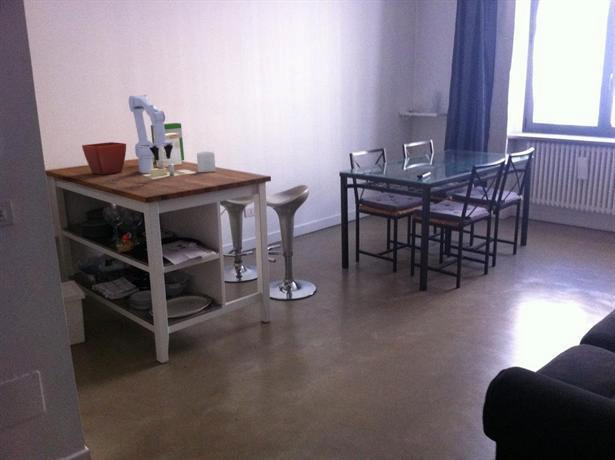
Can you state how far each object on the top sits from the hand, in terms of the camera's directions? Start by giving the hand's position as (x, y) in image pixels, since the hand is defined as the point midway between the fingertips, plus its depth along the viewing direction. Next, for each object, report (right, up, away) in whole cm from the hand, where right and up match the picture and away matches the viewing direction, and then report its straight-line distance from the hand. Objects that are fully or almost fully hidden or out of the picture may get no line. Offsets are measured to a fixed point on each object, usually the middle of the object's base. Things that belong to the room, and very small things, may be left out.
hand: (162, 159), depth 326 cm
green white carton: (-12, +6, +67) cm, 68 cm away
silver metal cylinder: (+4, -8, +6) cm, 10 cm away
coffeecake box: (-8, +2, +49) cm, 49 cm away
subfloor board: (+1, -8, +11) cm, 14 cm away
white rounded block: (+21, -5, +18) cm, 28 cm away
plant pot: (-40, -5, +29) cm, 50 cm away
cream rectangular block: (-4, -8, +9) cm, 12 cm away
